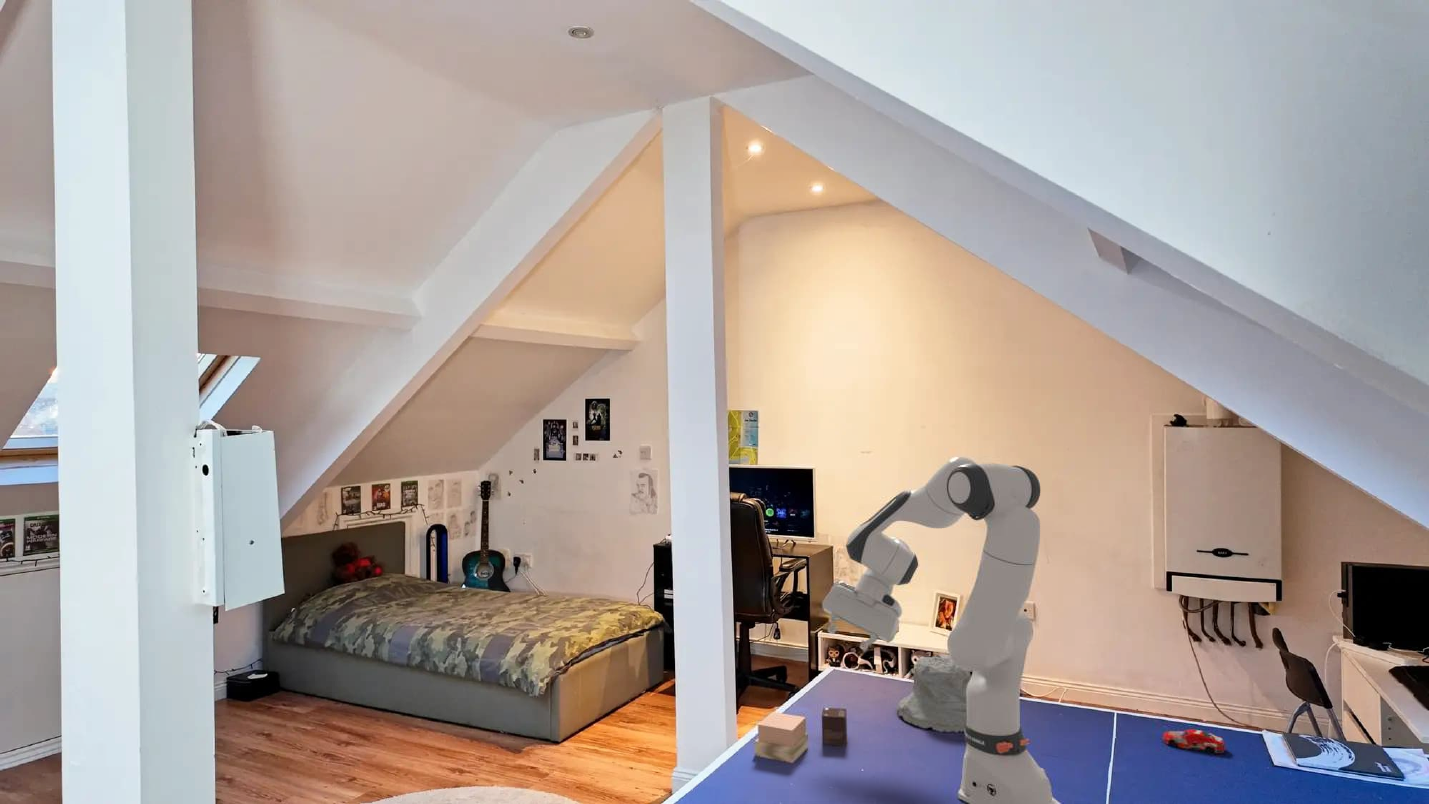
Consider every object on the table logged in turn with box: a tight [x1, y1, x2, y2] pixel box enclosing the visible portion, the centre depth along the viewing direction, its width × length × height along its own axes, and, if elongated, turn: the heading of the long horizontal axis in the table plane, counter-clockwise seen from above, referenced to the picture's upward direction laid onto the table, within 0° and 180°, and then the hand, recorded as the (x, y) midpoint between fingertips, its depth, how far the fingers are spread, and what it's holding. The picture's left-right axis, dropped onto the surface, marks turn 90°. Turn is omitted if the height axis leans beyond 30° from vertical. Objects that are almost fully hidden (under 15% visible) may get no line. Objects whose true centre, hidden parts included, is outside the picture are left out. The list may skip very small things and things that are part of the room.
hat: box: [895, 656, 972, 733], centre depth 226 cm, size 26×23×15 cm
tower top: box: [757, 711, 807, 747], centre depth 206 cm, size 9×9×4 cm
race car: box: [1162, 729, 1226, 755], centre depth 204 cm, size 13×5×4 cm, turn 57°
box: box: [821, 707, 848, 747], centre depth 212 cm, size 6×6×7 cm
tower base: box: [754, 732, 809, 764], centre depth 206 cm, size 10×10×4 cm
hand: (846, 640), depth 214 cm, fingers open, 8 cm apart
